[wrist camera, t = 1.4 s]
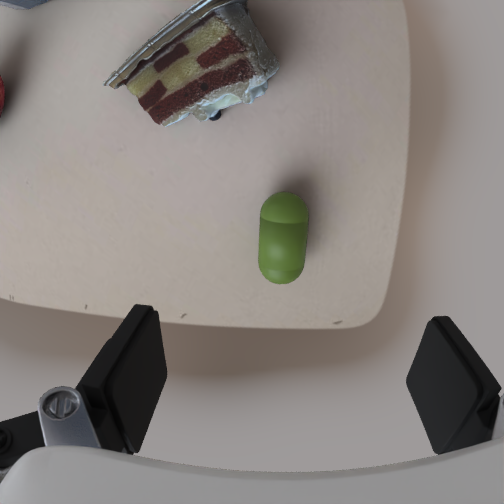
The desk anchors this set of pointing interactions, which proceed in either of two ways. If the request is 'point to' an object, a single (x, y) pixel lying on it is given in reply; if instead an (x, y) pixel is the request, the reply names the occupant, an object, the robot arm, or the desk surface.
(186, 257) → the desk surface
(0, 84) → the fruit
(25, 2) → the bowl
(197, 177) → the desk surface
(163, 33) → the layered cake slice
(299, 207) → the pickle
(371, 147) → the desk surface
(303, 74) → the desk surface
